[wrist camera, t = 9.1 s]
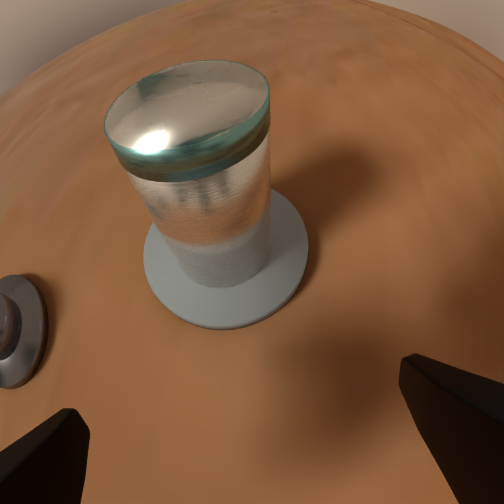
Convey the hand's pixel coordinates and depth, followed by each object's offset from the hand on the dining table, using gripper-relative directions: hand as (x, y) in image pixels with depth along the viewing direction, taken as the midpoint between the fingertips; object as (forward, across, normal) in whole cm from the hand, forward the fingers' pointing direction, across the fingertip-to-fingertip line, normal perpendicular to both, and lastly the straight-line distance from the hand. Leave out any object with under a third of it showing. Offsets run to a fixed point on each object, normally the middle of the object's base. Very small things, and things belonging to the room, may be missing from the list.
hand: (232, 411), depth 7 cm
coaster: (+11, 0, -1) cm, 11 cm away
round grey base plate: (+9, +16, +1) cm, 18 cm away
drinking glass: (+10, 0, -2) cm, 10 cm away
